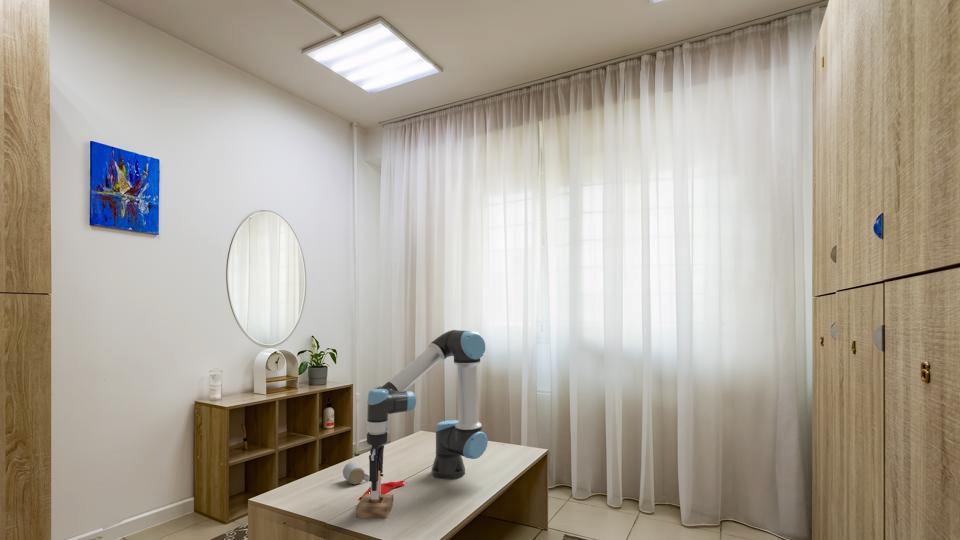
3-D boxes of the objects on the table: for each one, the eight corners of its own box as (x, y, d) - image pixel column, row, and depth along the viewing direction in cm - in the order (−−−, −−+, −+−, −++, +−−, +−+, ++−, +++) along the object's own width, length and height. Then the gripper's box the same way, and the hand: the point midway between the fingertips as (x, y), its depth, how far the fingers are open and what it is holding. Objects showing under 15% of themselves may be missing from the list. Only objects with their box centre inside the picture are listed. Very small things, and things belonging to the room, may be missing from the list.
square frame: (393, 505, 181) (393, 494, 181) (386, 518, 170) (387, 506, 170) (364, 504, 181) (364, 493, 182) (356, 517, 170) (356, 505, 171)
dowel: (380, 509, 177) (381, 470, 178) (378, 512, 174) (379, 473, 175) (372, 509, 177) (373, 470, 178) (370, 512, 174) (371, 473, 175)
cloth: (400, 479, 210) (400, 474, 210) (418, 488, 200) (418, 482, 200) (345, 494, 193) (345, 488, 193) (361, 504, 183) (361, 498, 183)
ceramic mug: (348, 487, 199) (349, 468, 199) (342, 481, 205) (342, 462, 206) (372, 482, 205) (373, 463, 206) (365, 476, 211) (366, 458, 212)
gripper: (372, 426, 186) (371, 488, 184) (361, 437, 170) (359, 505, 168) (391, 426, 185) (390, 489, 184) (382, 438, 170) (380, 506, 168)
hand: (375, 497), depth 176 cm, fingers closed on dowel, 3 cm apart
